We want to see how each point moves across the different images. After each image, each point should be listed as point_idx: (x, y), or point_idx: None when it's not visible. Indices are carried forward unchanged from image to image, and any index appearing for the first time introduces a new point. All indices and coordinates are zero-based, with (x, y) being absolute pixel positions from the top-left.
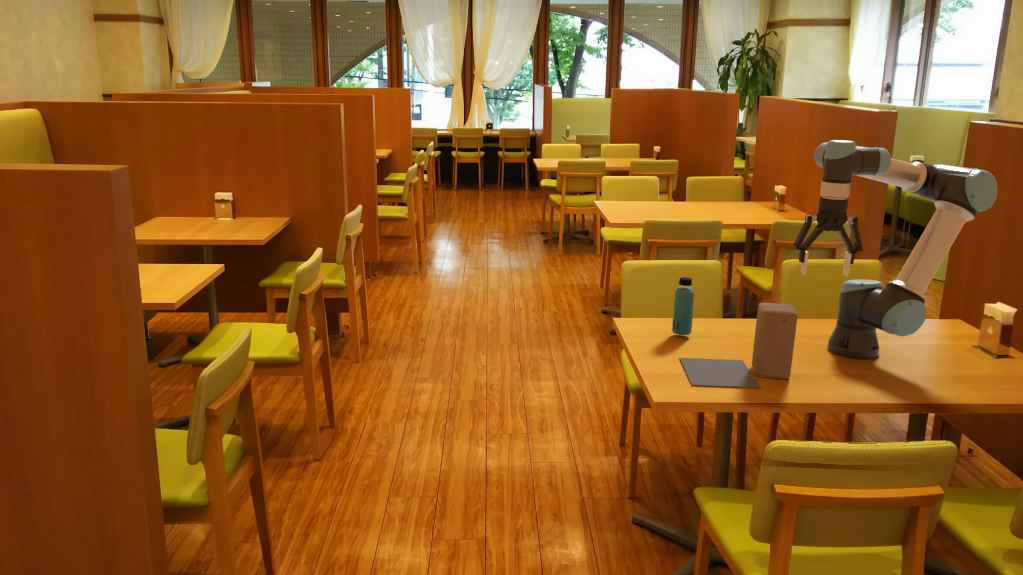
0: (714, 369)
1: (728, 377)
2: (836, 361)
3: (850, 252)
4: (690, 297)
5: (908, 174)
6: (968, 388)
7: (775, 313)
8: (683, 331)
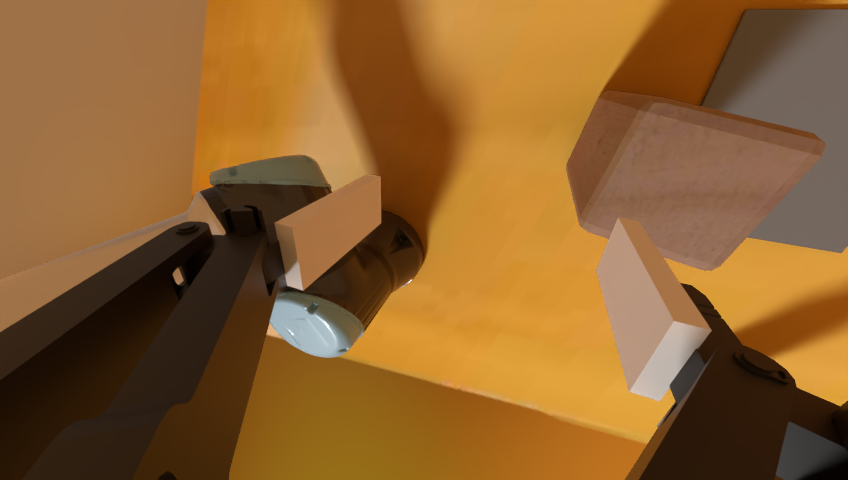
0: None
1: (801, 95)
2: (433, 203)
3: (274, 245)
4: None
5: None
6: (261, 61)
7: (759, 123)
8: None
